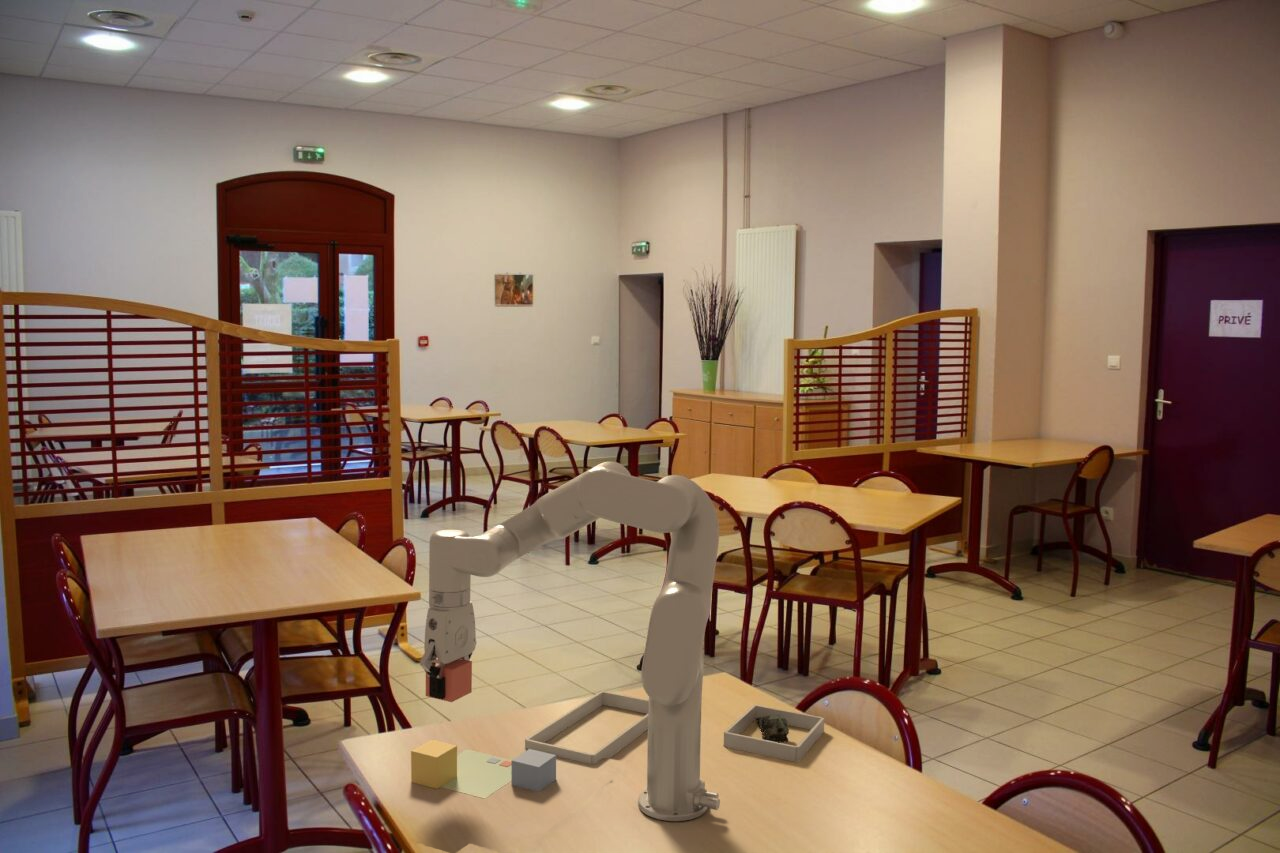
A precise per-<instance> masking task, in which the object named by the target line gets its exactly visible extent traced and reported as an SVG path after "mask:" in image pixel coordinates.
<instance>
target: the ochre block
mask: <svg viewBox="0 0 1280 853" xmlns="http://www.w3.org/2000/svg"><path fill="white" fill-rule="evenodd" d="M457 755H458V745H456V744H451V743H447V742H443V741H439V740H435V739H430V740H428V741H426V742H425V743H423V744H421V745H420V746H418V747H416V748H413V749H412V750H411V751H410V756H411V757H410V764H411V765H410V766H411V769H410V770H411V771H410V774H411V777H410V778H411V779H410V780H411V783H414V784H417V785H421V786H424V787H428V788H432V789H439V788H442V787H441V786H442V785H444V784H446V783H447V782H449V781H451V780H452V779H454V778H455V777H457Z"/></svg>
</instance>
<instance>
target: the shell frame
mask: <svg viewBox="0 0 1280 853" xmlns="http://www.w3.org/2000/svg"><path fill="white" fill-rule="evenodd" d="M773 714H774V715H781V716H783V717H784V718H785V719H786V720H787V721H788V723H787V724H788V725H787V726H791V727H796V728H800V729H801V728H802V729H804V730H805V729H806V730H809V731H808V733H807V734H806V735H804V737H803V738H802V739H801V741H800V742H799V743H798V744H797V745H792V744H787V743H784V742H783V743H782V742H780V743H778V742H773V741H768V740H763V738H759V737H753V736H748V735H743V734H741V733H742V732H743V731H745V730H746V728H747V727H749V726H750V725H751V724H752V723H753V722H754V721H755V720H756V719H757V718H759V717H762V718H763V717H765V716H769V715H773ZM824 732H825V717H822V716H817V715H812V714H807V713H801V712H796V711H791V710H787V709H785V710H784V709H780V708H776V707H770V706H765V705H759V704H753V705H752V706H751V707H750V708H748V710H747V711H745V712H744V713H743V714H742V715H741V716H739V718H738V719H736V721H734V722H733V723H732V724H731V725H730V726H729V727H727V729H725V730H724V732H723V747H725V748H727V749H728V748H729V749H733V750H736V751H737V750H738V751H744V752H748V753H752V754H756V755H761V756H766V757H771V758H775V759H781V760H786V761H789V762H800V761H801V760H802V759H803V757H804V756H805V755H806V754H807V753H808V751H810V749H811V747H813V745H814V744H815V743H816V742H817V740H819V738H820V737H821V736H822V735H823V733H824Z"/></svg>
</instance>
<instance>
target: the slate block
mask: <svg viewBox="0 0 1280 853" xmlns="http://www.w3.org/2000/svg"><path fill="white" fill-rule="evenodd" d="M511 760H512V781H511V786H515V787H518V788H523V789H527V790H530V791H534V792H537V793H539V792H541V791H542V790H544V789H545V788H547V786H549V785H550V784H551V783H553V782H554V781H556V780H557V756H556V755H554V754H549V753H545V752H541V751H537V750H532V749H526V751H524V752H522V753H521V754H519V755H517V756H515V758H513V759H511Z"/></svg>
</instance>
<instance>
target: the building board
mask: <svg viewBox="0 0 1280 853" xmlns="http://www.w3.org/2000/svg"><path fill="white" fill-rule="evenodd" d="M512 760H513V759H508V758H506V757H505V758H504V757H500V756H497V755H496V756H495V755H492V754H488V753H484V752H479V751H476V750H472V749H468V748H467V749H464V750H463V751H461V752H459V753H457V777H455V778H454V779H452V780H451V781H449V782H447V783H446V784H444V785H442V786H441V787H440V788H442V789H447V790H450V791H454V792H458V793H461V794H465V795H469V796H473V797H477V798H479V799H483V800H485V799H487V798H488V797H490V796H491V795H493V794H494V793H496V792H498V791H499V790H500V789H501V788H503V787H505V786H506V785H508V784H509V783H510V782H512Z"/></svg>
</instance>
